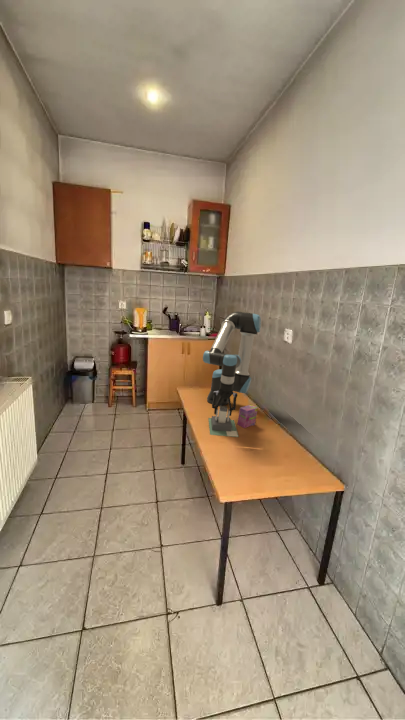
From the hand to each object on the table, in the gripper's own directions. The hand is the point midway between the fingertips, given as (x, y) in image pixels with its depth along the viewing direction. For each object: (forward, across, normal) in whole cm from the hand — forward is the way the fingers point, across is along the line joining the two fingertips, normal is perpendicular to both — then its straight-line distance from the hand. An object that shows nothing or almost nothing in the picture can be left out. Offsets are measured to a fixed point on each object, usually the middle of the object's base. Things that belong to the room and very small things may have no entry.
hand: (221, 419), depth 172 cm
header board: (+5, +1, 0) cm, 5 cm away
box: (+5, +16, +6) cm, 18 cm away
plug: (+4, 0, 0) cm, 4 cm away
